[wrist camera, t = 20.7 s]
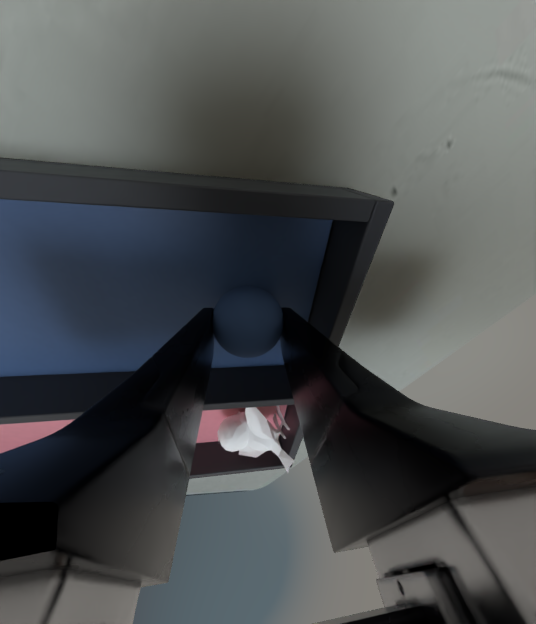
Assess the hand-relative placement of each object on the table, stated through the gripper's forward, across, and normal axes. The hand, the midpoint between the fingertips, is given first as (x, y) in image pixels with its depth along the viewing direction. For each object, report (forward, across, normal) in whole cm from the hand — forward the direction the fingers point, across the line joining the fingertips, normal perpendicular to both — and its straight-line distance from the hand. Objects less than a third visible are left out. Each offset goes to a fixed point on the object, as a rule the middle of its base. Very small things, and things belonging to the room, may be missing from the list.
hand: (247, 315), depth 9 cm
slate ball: (0, 0, 0) cm, 0 cm away
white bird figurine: (+1, -1, +10) cm, 10 cm away
